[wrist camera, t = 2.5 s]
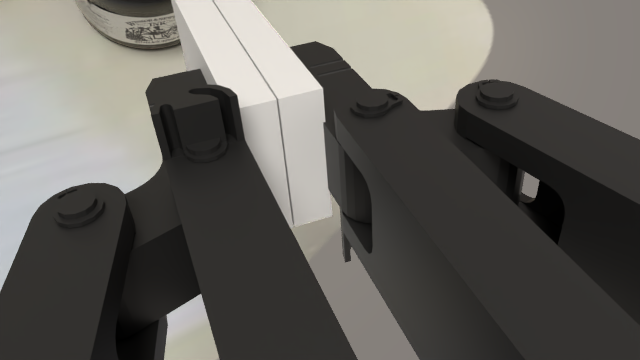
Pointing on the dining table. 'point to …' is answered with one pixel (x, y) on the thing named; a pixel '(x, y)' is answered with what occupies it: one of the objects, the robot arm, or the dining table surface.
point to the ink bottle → (133, 21)
